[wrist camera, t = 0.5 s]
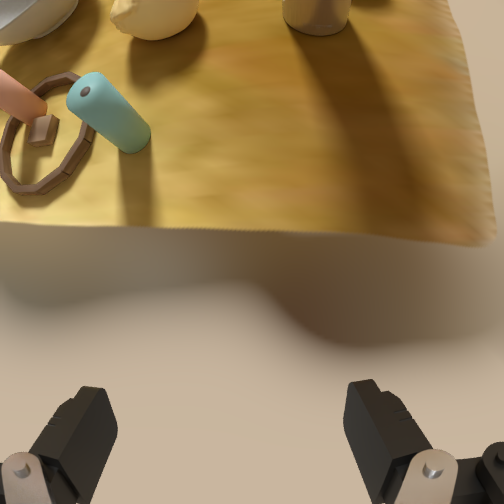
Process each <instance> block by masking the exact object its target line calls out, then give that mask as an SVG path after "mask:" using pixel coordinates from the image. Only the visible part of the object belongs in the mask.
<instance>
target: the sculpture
mask: <svg viewBox="0 0 504 504" xmlns="http://www.w3.org/2000/svg"><path fill="white" fill-rule="evenodd" d="M198 3H199V0H115V1H114V4H113V6H112V10H111V12H110V20H111V22H112V23H113V24H114V25H115V26H116V28H117V29H118V30H120V32H121V33H126V34H130V35H132V36H135V37H138V38H140V39H145V40H160V39H164V38H167V37H170V36H173V35H175V34H177V33H179V32H180V31H182V30H184V29H185V28H186V27H187V26H188V25H189V24H190V23H191V22H192V20H193V19H194V17H195V15H196V13H197V9H198Z"/></svg>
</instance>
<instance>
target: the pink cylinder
mask: <svg viewBox="0 0 504 504" xmlns="http://www.w3.org/2000/svg"><path fill="white" fill-rule="evenodd" d="M0 109H2V110H3V111H5V112H7V113H8V114H10V115H12V116H13V117H15V118H17V119H18V120H20V121H22V122H23V123H25V124H27V125H28V126H30V127H32V124H33V120H34V118H38V117H42V116H45V114H46V111H47V103H46V102H45V101H44V100H42V99H41V98H39V97H38V96H37V95H35V94H34V93H33V92H31V91H30V90H29V89H27V88H26V87H24V86H23V85H22V84H20V83H19V82H18V81H16V80H15V79H14V78H12V77H11V76H9V75H8V74H7V73H5V72H4V71H3V70H1V69H0Z"/></svg>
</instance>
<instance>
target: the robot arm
mask: <svg viewBox="0 0 504 504" xmlns="http://www.w3.org/2000/svg"><path fill="white" fill-rule="evenodd" d="M282 2H283V17H284V19H285V21H286V22H287V23H288V24H289V25H290V26H291V27H292V28H294V29H296V30H298V31H300V32H302V33H306V34H310V35H317V36H325V35H331V34H335V33H337V32H339V31H341V30H342V29H343V28H344V27H345V25H346V23H347V19H348V15H349V10H350V6H351V2H352V0H282ZM343 424H344V431H345V434H346V437H347V440H348V442H349V445H350V447H351V450H352V452H353V455H354V457H355V460H356V463H357V465H358V468H359V470H360V473H361V475H362V478H363V481H364V483H365V485H366V488H367V491H368V494H369V496H370V499H371V502H372V504H382V503H385V504H504V442H496V443H493V444H491V445H490V446H488V448H487V449H486V450H485V451H484V453H483V455H482V457H477V458H469V459H458V460H456V459H455V458H454V457H453V456H452V455H451V454H449V453H447V452H445V451H443V450H437V449H433V448H432V446H431V444H430V443H429V441H428V440H427V438H426V437H425V435H424V434H423V432H422V431H421V429H420V428H419V426H418V425H417V423H416V422H415V420H414V419H412V416H411V414H410V413H409V411H407V409H406V407H405V405H404V404H403V403H402V401H401V400H400V398H398V397H397V396H395V395H394V394H392V393H391V392H389V391H385V392H381V391H380V389H379V388H378V387H377V385H376V383H375V382H374V380H373V379H368V380H362V381H356V382H351V383H349V385H348V390H347V398H346V404H345V411H344V417H343ZM117 431H118V427H117V422H116V418H115V416H114V413H113V410H112V407H111V404H110V401H109V398H108V395H107V393H106V391H105V389H103V388H97V387H88V386H83V387H81V388H80V390H79V391H78V393H77V394H76V396H75V397H74V399H72V398H70V399H69V400H67V401H66V402H64V403H63V404H62V405H60V406H59V408H58V409H57V410H56V412H55V413H54V415H53V417H52V418H51V419H50V420H49V422H48V425H46V426H45V428H44V429H43V431H42V432H41V434H40V436H39V437H38V438H37V440H36V441H35V443H34V444H33V446H32V447H31V449H30V450H29V452H19V453H15V454H12V455H11V456H9V457H8V458H7V459H6V460H5V461H4V463H0V504H76V503H78V504H90V502H91V499H92V497H93V494H94V491H95V489H96V487H97V484H98V481H99V479H100V477H101V474H102V472H103V469H104V467H105V464H106V462H107V459H108V457H109V455H110V452H111V450H112V447H113V445H114V443H115V440H116V438H117Z"/></svg>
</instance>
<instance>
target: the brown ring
mask: <svg viewBox="0 0 504 504" xmlns="http://www.w3.org/2000/svg"><path fill="white" fill-rule="evenodd" d="M80 78H81V77H80V76H78V75H76V74H74V73H72V72H65V73H61V74H57V75H54V76H50V77H47V78H45V79H44V80H43V81H41V82H40V83H39V84H38V85H36V86H35V87H34V88H33V89H32V90H30V91H31V92H33V93H34V94H35V95H37V96H38V97H39V98H40V97H41V96H42V95H44V94H45V93H46V92H47V91H49V90H50V89H51V88H54V87H57V86H62V85H66V84H70V83H75V82H76V81H77V80H79V79H80ZM19 123H20V120H18V119H17V118H15V117H13V116H12V115H11V116H10V118H9V119H8V121H7V123H6V126H5V129H4V132H3V136H2V139H1V143H0V176H1V178H2V179H3V181H4V182H5V183H6V184H7V185H8V186H9V188H10V189H11V190H12V191H13V192H14V193H17V194H21V195H44V194H46V193H47V192H49V191H50V190H51V189H53V188H54V187H55V186H57V185H58V184H60V183H61V182H62V181H64V180H65V179H66V178H68V177H69V176H70V175H71V174H72V172H73V171H74V169H75V168H76V166H77V165H78V163H79V161H80V160H81V158H82V157H83V155H84V154H85V152H86V151H87V149H88V148H89V147H90V145H91V144H90V143H92V139H93V135H94V131H95V130H94V129H93V128H92V127H91V126H89V125H88V124H87V123H85V122H84V121H83V122H82V125H81V129H80V133H79V137H78V138H77V140H76V141H75V143H74V144H73V146H72V147H71V149H70V150H69V152H68V153H67V155H66V157H65V158H64V160H63V161H62V163H61V164H60V166H59V167H58V168H57V169H55V170H54V171H53V172H51V173H50V174H49V175H47V176H46V177H45V178H43V179H42V180H41V181H40V182H38V183H37V184H33V185H21V184H20V183H19V182H18V181H17V180H16V179H15V178H14V176H13V175H12V169H11V161H10V150H11V146H12V142H13V138H14V135H15V132H16V128H17V126H18V124H19ZM58 123H59V119H58V118H56V117H55V116H54V115H47V116H42V117H38V118H34V120H33V124H32V127H31V130H30V134H29V137H28V141H27V143H28V144H30V145H32V146H34V147H38V146H45V145H52V144H53V142H54V138H55V134H56V130H57V127H58Z"/></svg>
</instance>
